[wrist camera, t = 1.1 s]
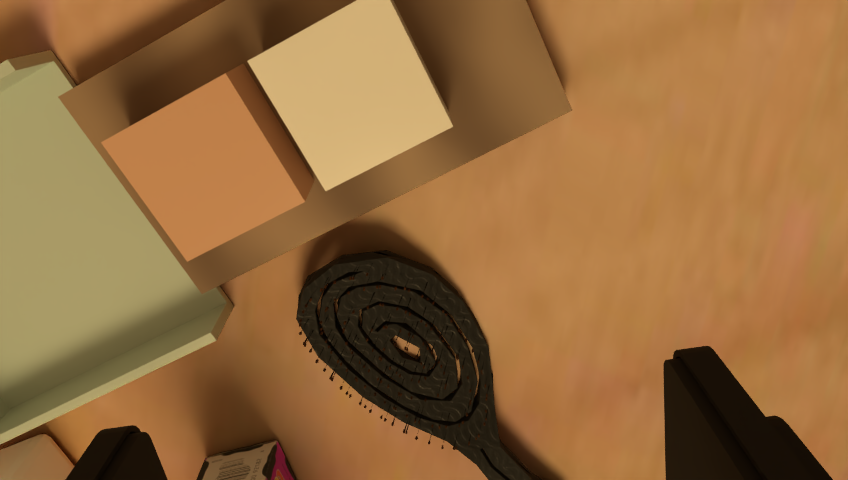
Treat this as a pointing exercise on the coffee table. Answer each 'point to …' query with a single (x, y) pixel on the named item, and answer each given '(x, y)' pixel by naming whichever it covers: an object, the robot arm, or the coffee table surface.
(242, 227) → the terracotta tile
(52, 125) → the tray
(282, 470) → the candy bar box
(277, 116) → the walnut board
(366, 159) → the cream tile
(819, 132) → the coffee table surface
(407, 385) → the hairbrush
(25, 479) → the salt shaker
